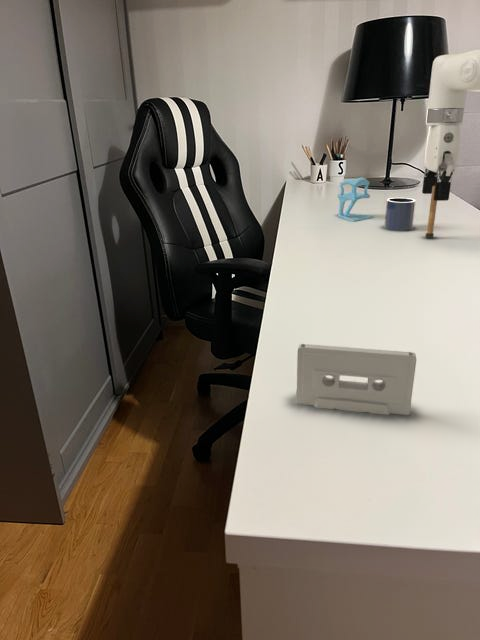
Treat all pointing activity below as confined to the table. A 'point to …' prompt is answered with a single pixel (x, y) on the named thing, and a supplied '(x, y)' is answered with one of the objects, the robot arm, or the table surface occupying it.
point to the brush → (431, 216)
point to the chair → (352, 197)
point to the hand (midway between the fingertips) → (434, 196)
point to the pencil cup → (399, 214)
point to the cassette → (359, 363)
